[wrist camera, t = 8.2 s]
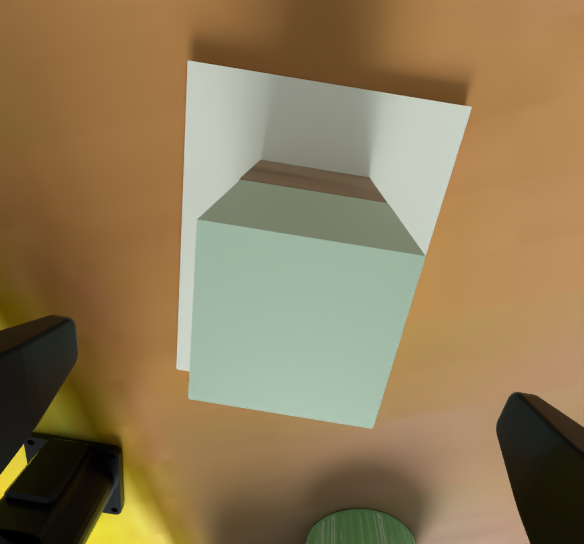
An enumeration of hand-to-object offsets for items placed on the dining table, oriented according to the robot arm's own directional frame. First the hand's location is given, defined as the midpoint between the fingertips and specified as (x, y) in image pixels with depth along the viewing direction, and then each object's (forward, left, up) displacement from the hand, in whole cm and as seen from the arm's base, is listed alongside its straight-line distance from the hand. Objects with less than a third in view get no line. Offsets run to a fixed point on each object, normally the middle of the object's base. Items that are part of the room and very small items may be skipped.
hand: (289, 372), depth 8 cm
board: (-2, 0, -12) cm, 12 cm away
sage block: (0, 0, -7) cm, 7 cm away
